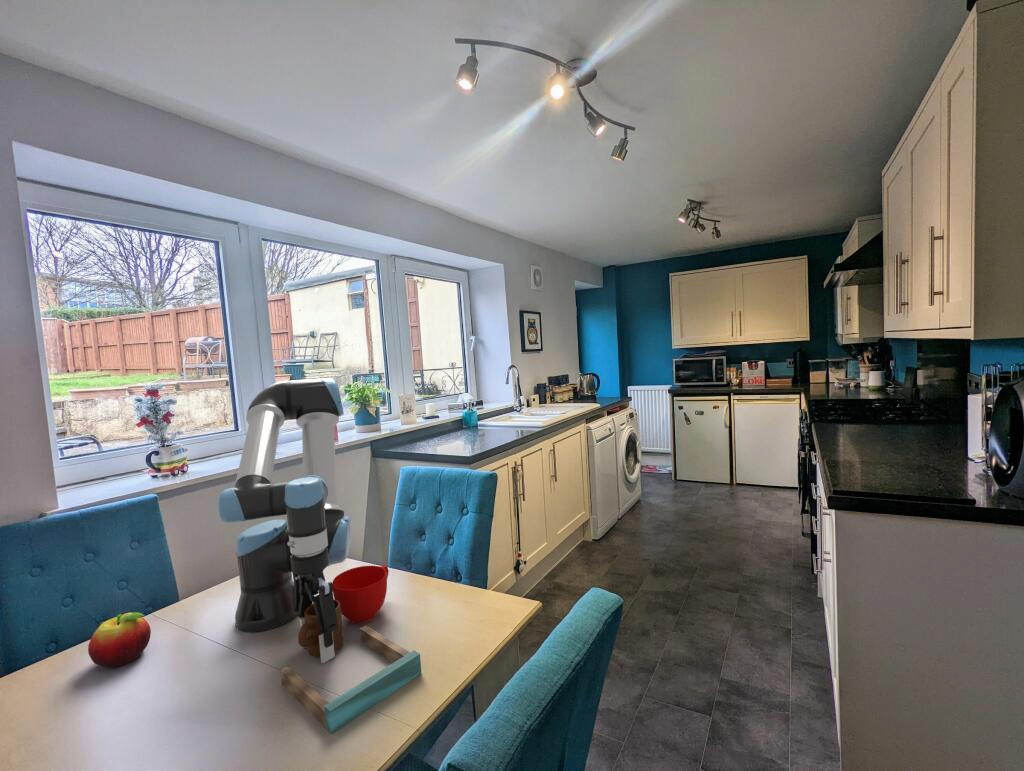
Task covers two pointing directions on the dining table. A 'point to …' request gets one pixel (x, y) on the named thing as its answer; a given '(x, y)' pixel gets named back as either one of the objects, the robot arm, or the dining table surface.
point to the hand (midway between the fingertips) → (318, 651)
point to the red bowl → (361, 592)
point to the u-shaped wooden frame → (362, 694)
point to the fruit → (119, 640)
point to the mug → (311, 628)
